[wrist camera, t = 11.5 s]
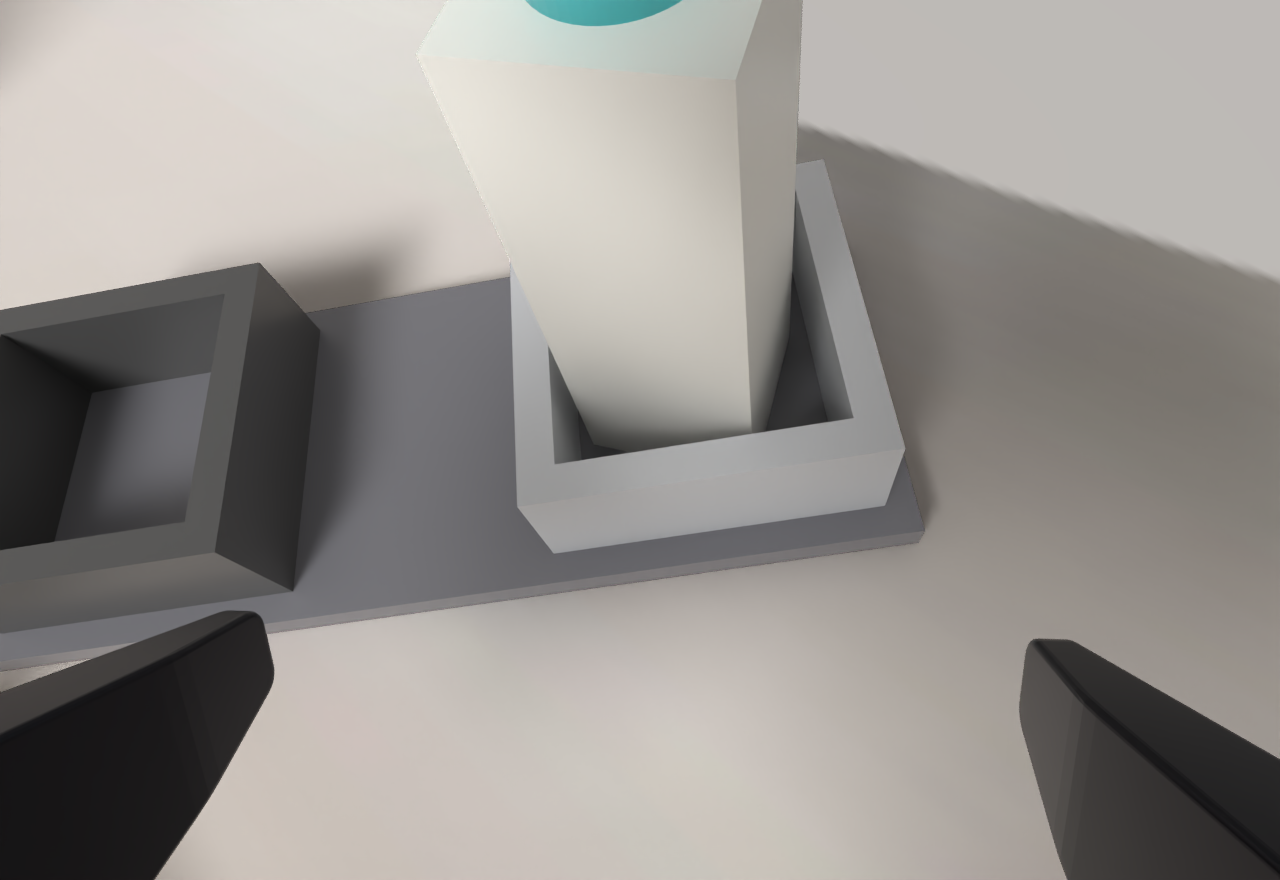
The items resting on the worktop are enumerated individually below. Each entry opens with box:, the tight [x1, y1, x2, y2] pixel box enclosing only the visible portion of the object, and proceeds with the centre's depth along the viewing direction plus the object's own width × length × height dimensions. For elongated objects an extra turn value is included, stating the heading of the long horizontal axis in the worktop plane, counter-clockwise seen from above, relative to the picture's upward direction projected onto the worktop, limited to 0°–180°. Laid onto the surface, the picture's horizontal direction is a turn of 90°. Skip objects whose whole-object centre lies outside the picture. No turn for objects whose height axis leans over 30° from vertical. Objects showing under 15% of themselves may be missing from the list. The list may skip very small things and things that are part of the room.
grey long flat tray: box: [0, 159, 925, 671], centre depth 19 cm, size 9×23×4 cm, turn 95°
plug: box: [416, 0, 803, 452], centre depth 14 cm, size 4×4×13 cm
